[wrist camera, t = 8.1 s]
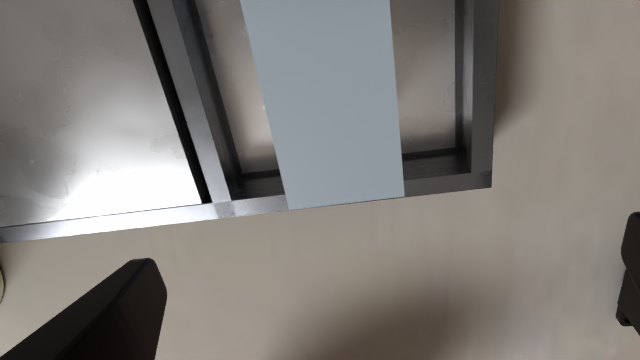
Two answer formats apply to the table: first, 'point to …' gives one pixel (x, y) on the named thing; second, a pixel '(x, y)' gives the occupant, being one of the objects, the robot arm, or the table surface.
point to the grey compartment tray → (205, 111)
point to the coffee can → (1, 286)
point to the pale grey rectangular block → (329, 97)
